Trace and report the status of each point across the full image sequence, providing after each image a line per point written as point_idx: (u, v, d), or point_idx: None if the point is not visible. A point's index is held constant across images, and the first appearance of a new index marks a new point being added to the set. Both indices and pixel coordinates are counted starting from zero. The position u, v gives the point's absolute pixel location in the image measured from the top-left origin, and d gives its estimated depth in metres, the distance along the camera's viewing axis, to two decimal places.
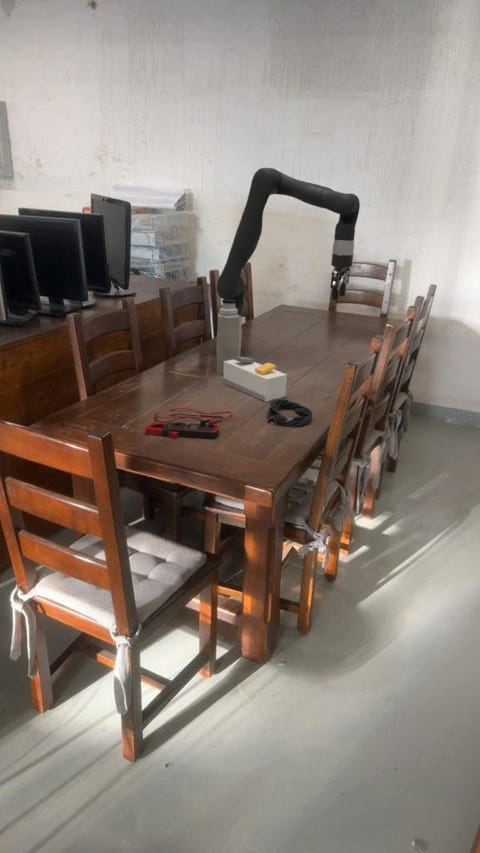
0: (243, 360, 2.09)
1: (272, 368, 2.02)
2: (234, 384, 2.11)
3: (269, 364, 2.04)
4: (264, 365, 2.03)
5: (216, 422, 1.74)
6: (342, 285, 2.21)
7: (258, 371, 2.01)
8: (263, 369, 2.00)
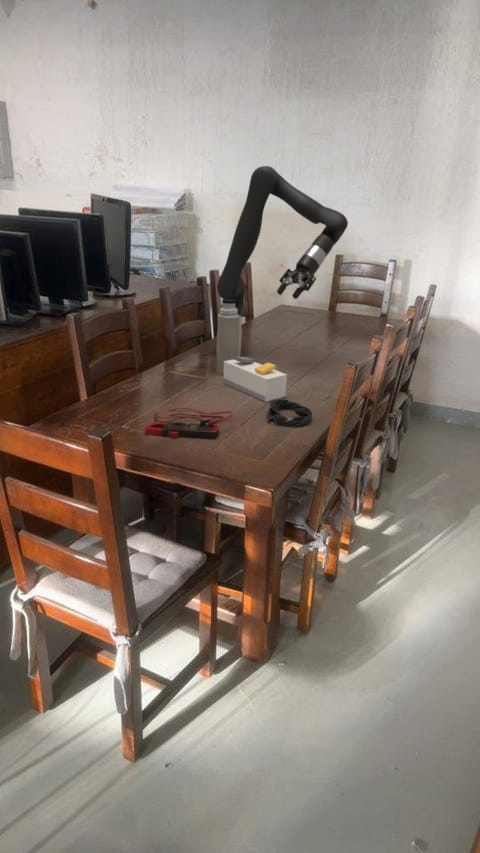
0: (243, 360, 2.09)
1: (272, 368, 2.02)
2: (234, 384, 2.11)
3: (269, 364, 2.04)
4: (264, 365, 2.03)
5: (216, 422, 1.74)
6: (284, 285, 2.17)
7: (258, 371, 2.01)
8: (263, 369, 2.00)
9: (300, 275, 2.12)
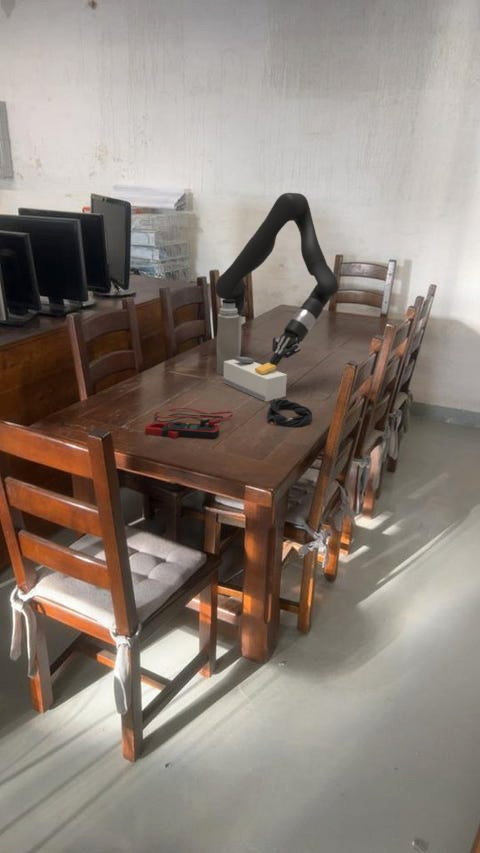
0: (243, 360, 2.09)
1: (272, 368, 2.02)
2: (234, 384, 2.11)
3: (269, 364, 2.04)
4: (264, 365, 2.03)
5: (216, 422, 1.74)
6: None
7: (258, 371, 2.01)
8: (263, 369, 2.00)
9: (286, 341, 2.03)
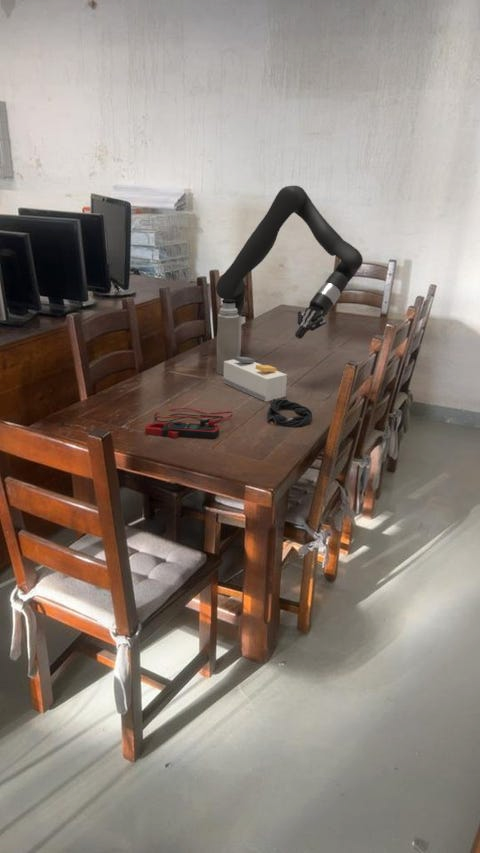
0: (243, 360, 2.09)
1: (272, 369, 2.02)
2: (234, 384, 2.11)
3: (270, 366, 2.04)
4: (265, 365, 2.04)
5: (216, 422, 1.74)
6: None
7: (259, 368, 2.01)
8: (264, 367, 2.00)
9: (312, 314, 2.06)
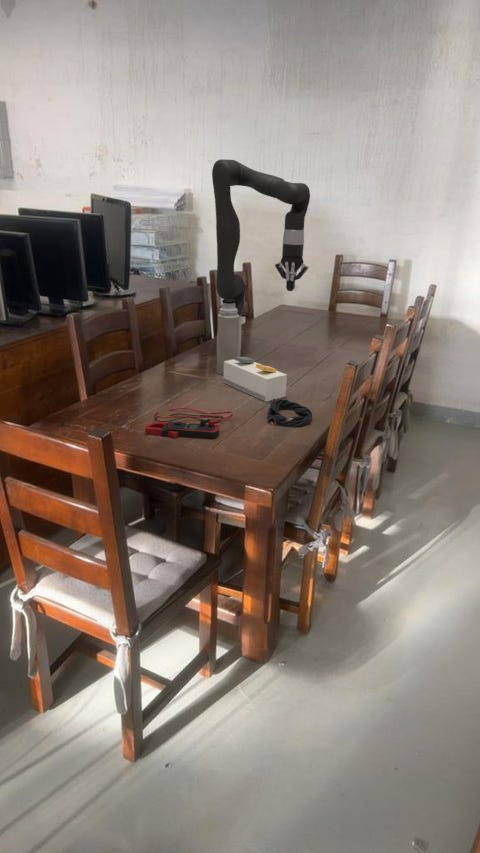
0: (243, 360, 2.09)
1: (272, 370, 2.02)
2: (234, 384, 2.11)
3: (270, 367, 2.04)
4: (265, 366, 2.04)
5: (216, 422, 1.74)
6: (290, 280, 2.19)
7: (259, 367, 2.01)
8: (265, 367, 2.00)
9: (293, 267, 2.15)
